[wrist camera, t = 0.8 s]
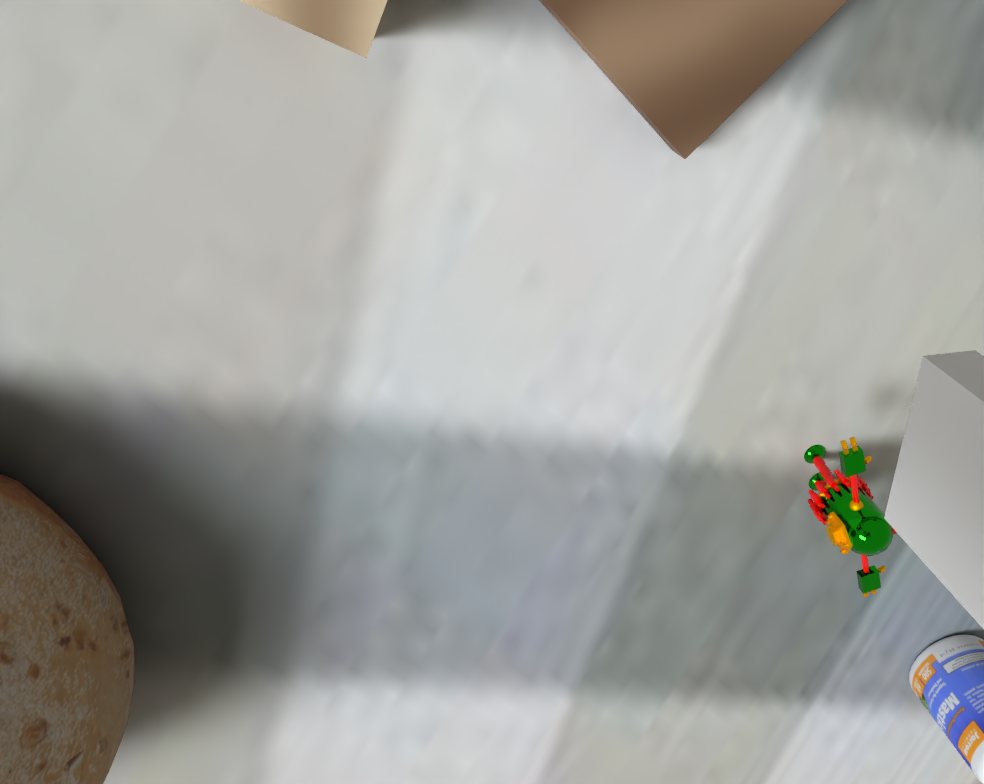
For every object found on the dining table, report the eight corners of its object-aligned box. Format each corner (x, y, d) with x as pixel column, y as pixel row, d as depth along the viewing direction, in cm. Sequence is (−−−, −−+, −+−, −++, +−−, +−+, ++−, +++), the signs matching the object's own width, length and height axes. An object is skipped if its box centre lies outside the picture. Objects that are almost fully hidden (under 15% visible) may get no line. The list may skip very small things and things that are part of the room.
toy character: (885, 338, 41) (971, 405, 35) (904, 518, 47) (980, 602, 41) (673, 415, 42) (724, 494, 36) (718, 584, 48) (768, 676, 42)
